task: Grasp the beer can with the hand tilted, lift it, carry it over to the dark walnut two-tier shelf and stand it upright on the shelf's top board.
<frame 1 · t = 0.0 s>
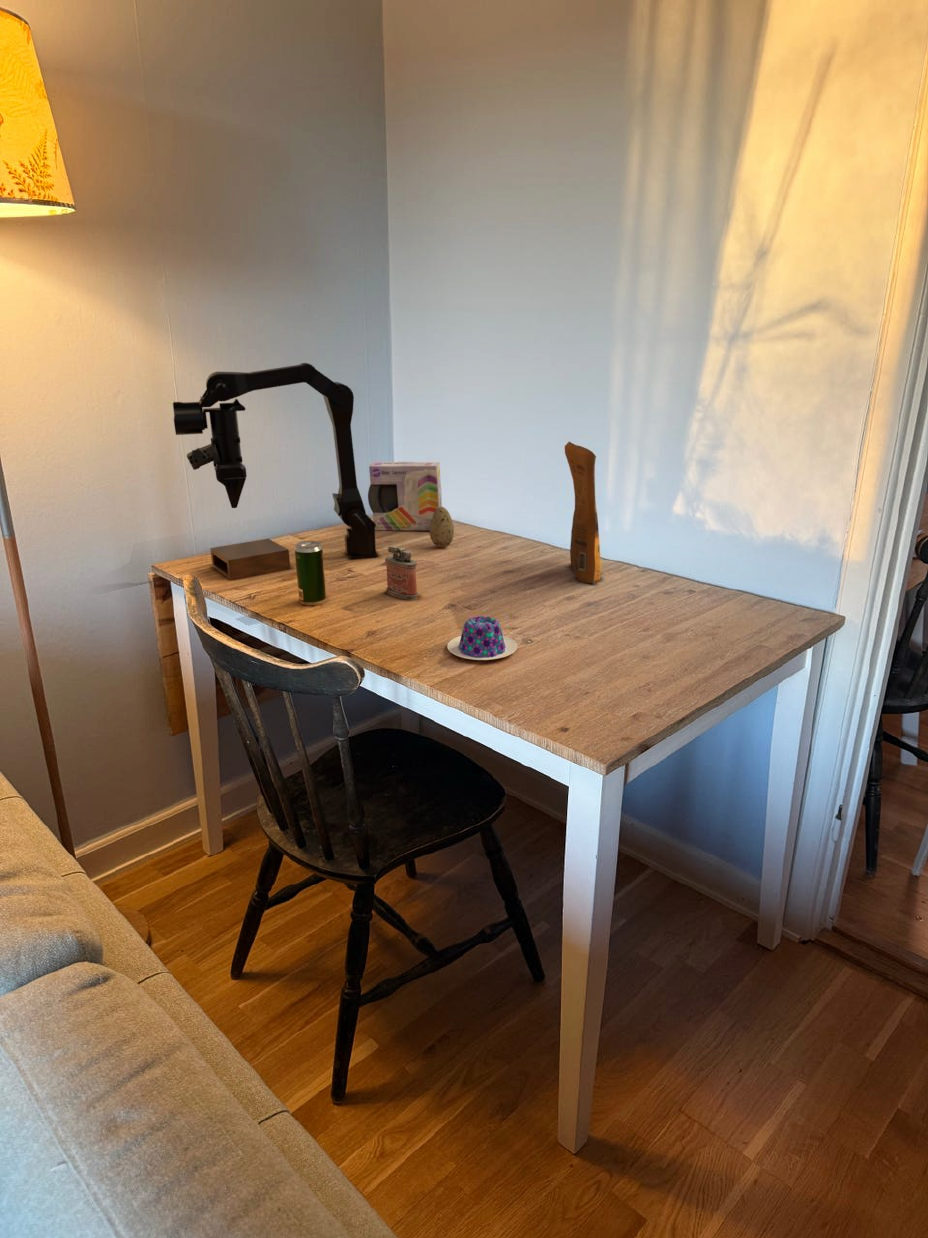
hand: (233, 503, 184), 15 cm above the table, tool pointing down, fingers open, 9 cm apart
cake pan box: (406, 529, 220), on the table
lighter: (402, 595, 169), on the table
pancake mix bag: (581, 573, 182), on the table
decorative egg: (442, 547, 203), on the table
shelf: (251, 567, 188), on the table
beer can: (312, 602, 166), on the table
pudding: (482, 651, 142), on the table
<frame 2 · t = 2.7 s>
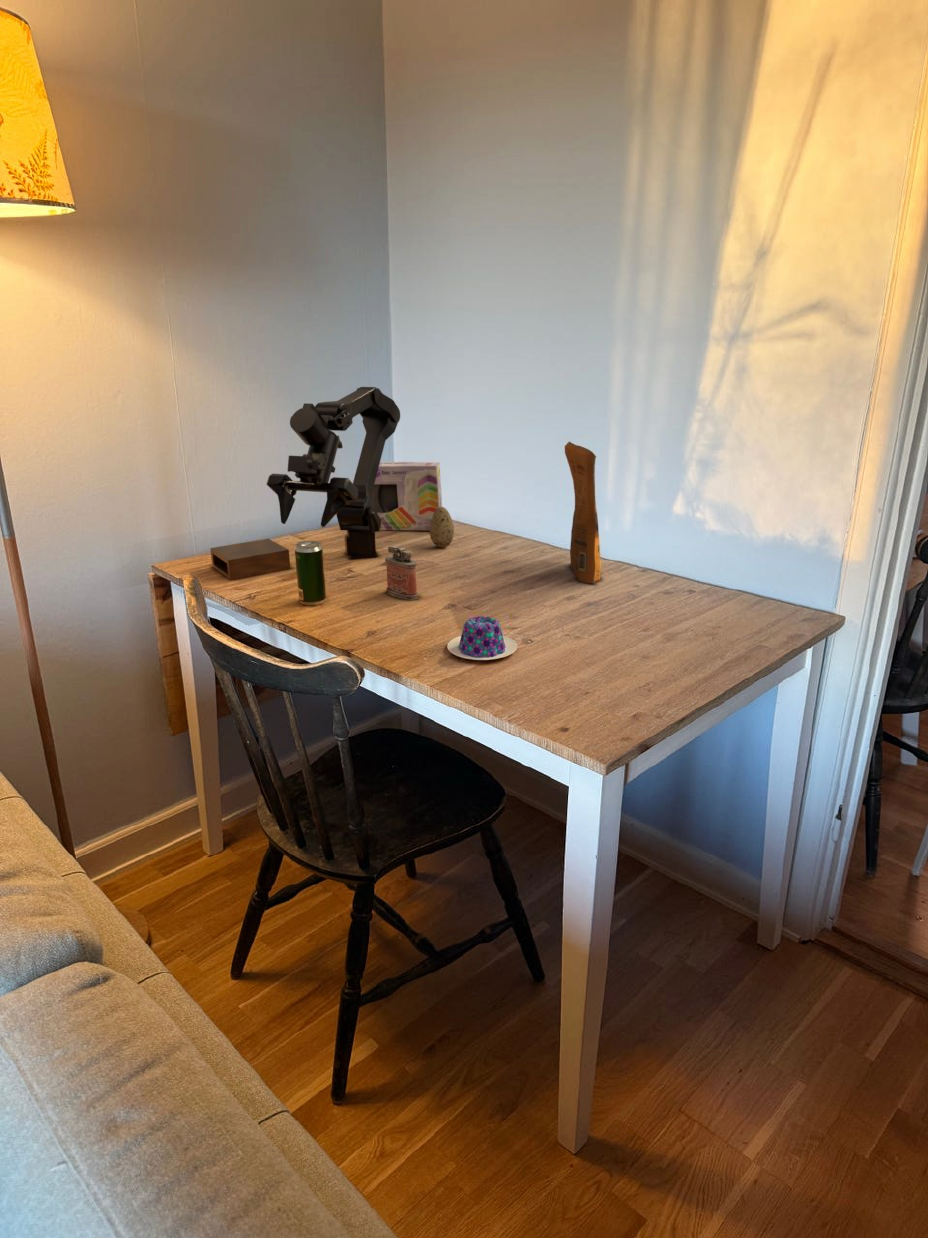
hand: (302, 524, 169), 14 cm above the table, tool tilted 40°, fingers open, 9 cm apart
nothing on the table moved.
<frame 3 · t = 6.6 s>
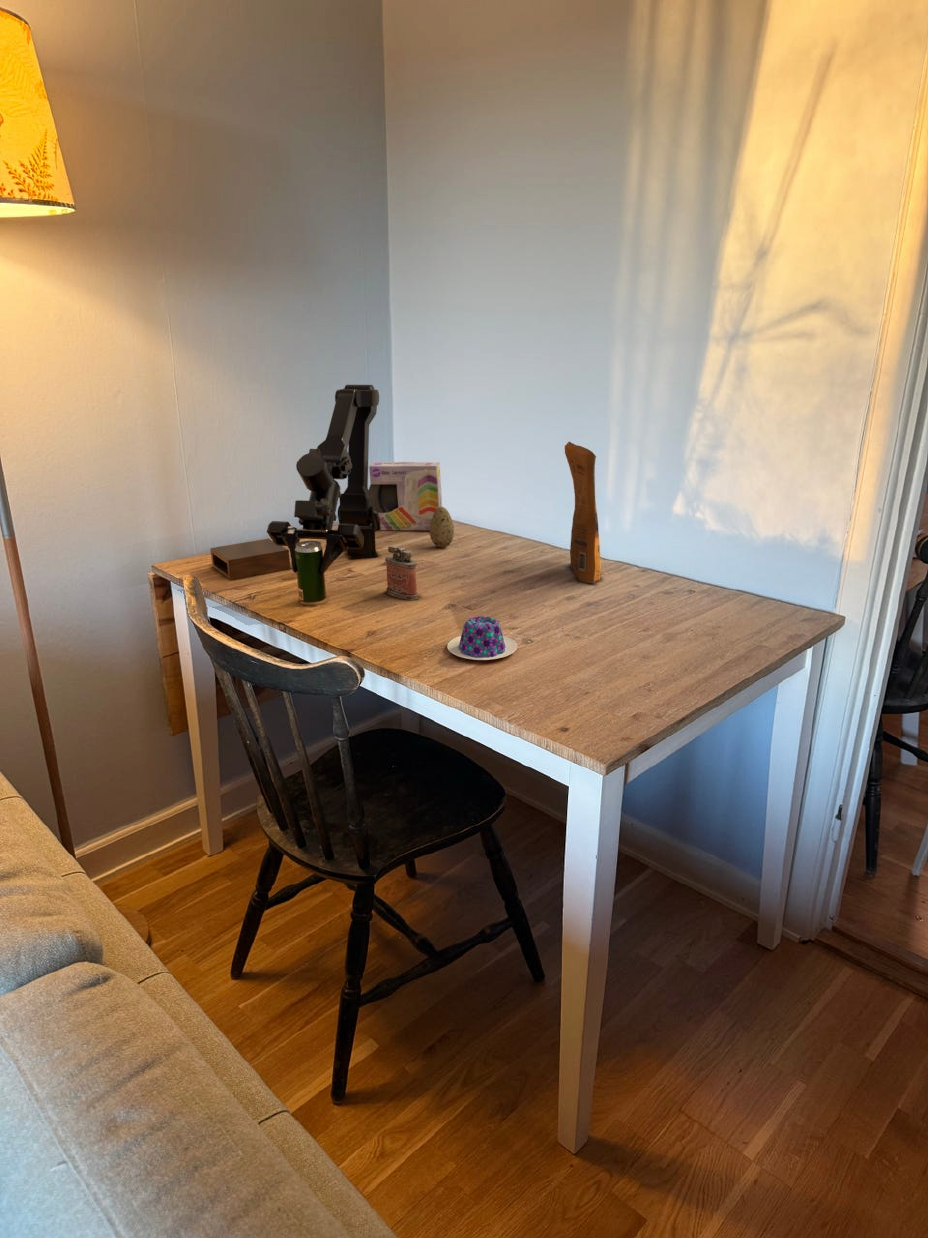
hand: (307, 572, 162), 7 cm above the table, tool tilted 45°, fingers closed on beer can, 5 cm apart
beer can: (312, 602, 166), on the table, touching gripper
everything else where it was.
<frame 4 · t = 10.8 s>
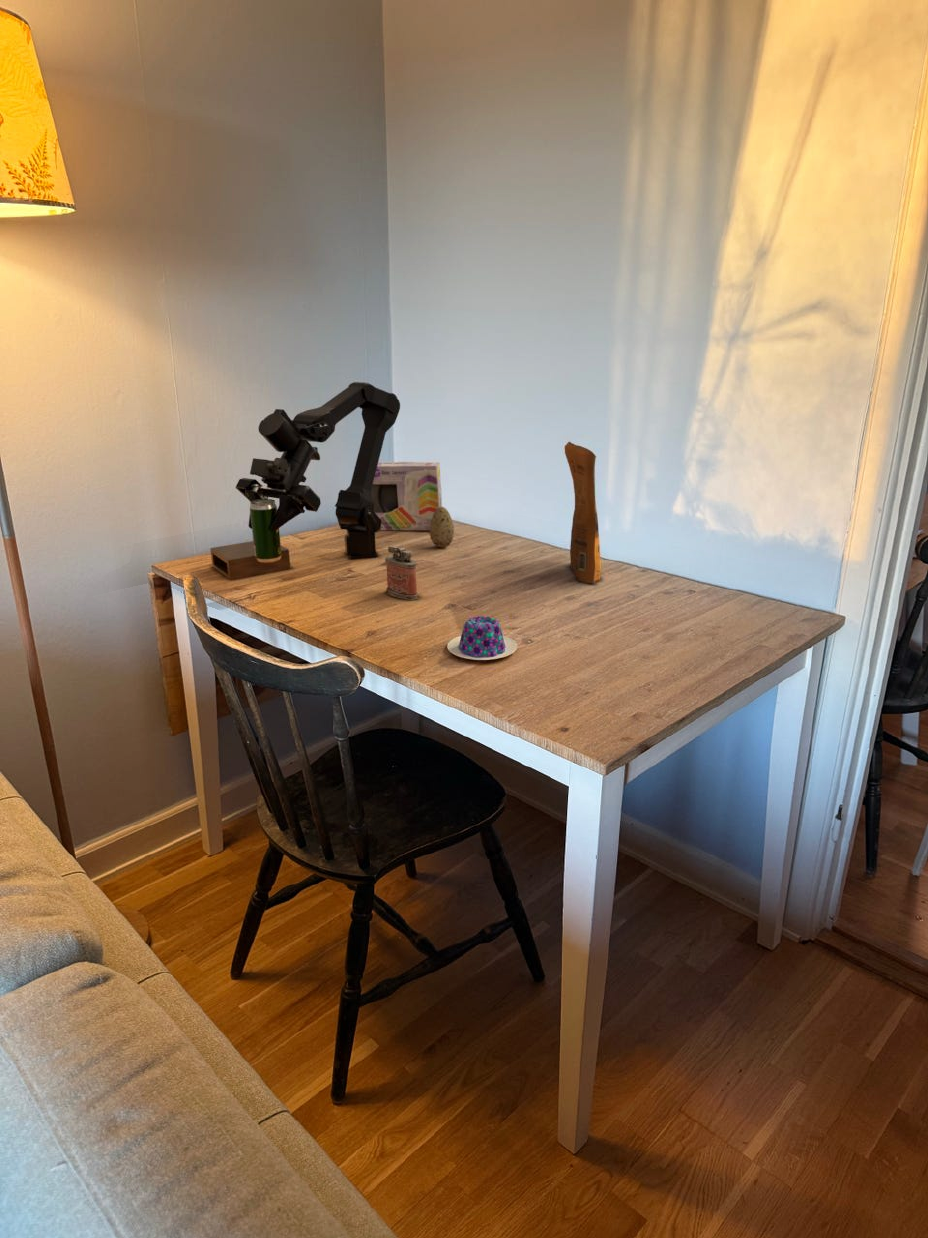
hand: (260, 529, 167), 14 cm above the table, tool tilted 45°, fingers closed on beer can, 5 cm apart
beer can: (268, 559, 170), point 7 cm above the table, touching gripper
everything else where it was.
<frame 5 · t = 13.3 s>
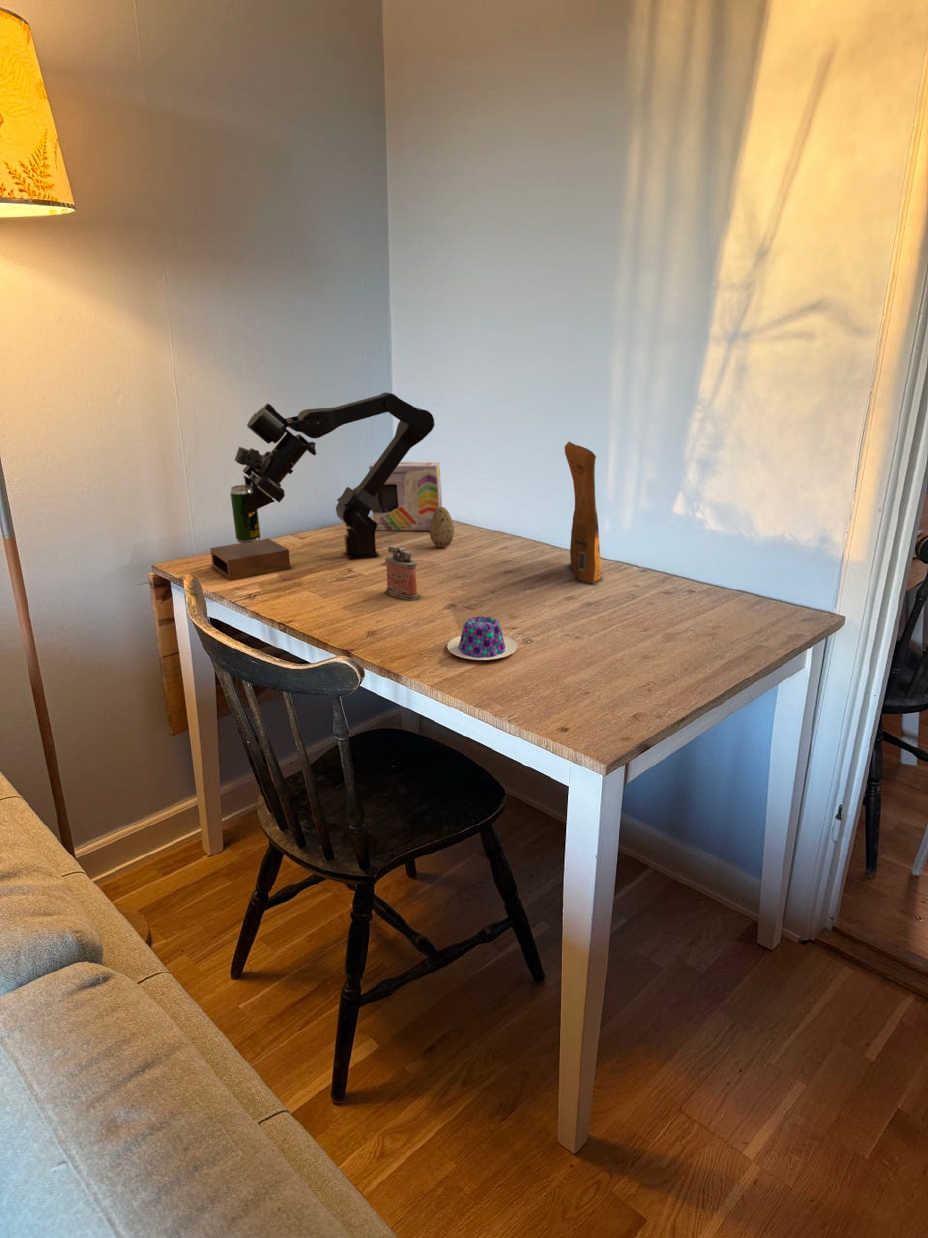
hand: (239, 511, 182), 13 cm above the table, tool tilted 45°, fingers closed on beer can, 5 cm apart
beer can: (248, 540, 185), point 7 cm above the table, touching gripper
everything else where it was.
when the fingers open (11 cm above the table, at t = 15.1 s): beer can stays where it is, resting on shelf.
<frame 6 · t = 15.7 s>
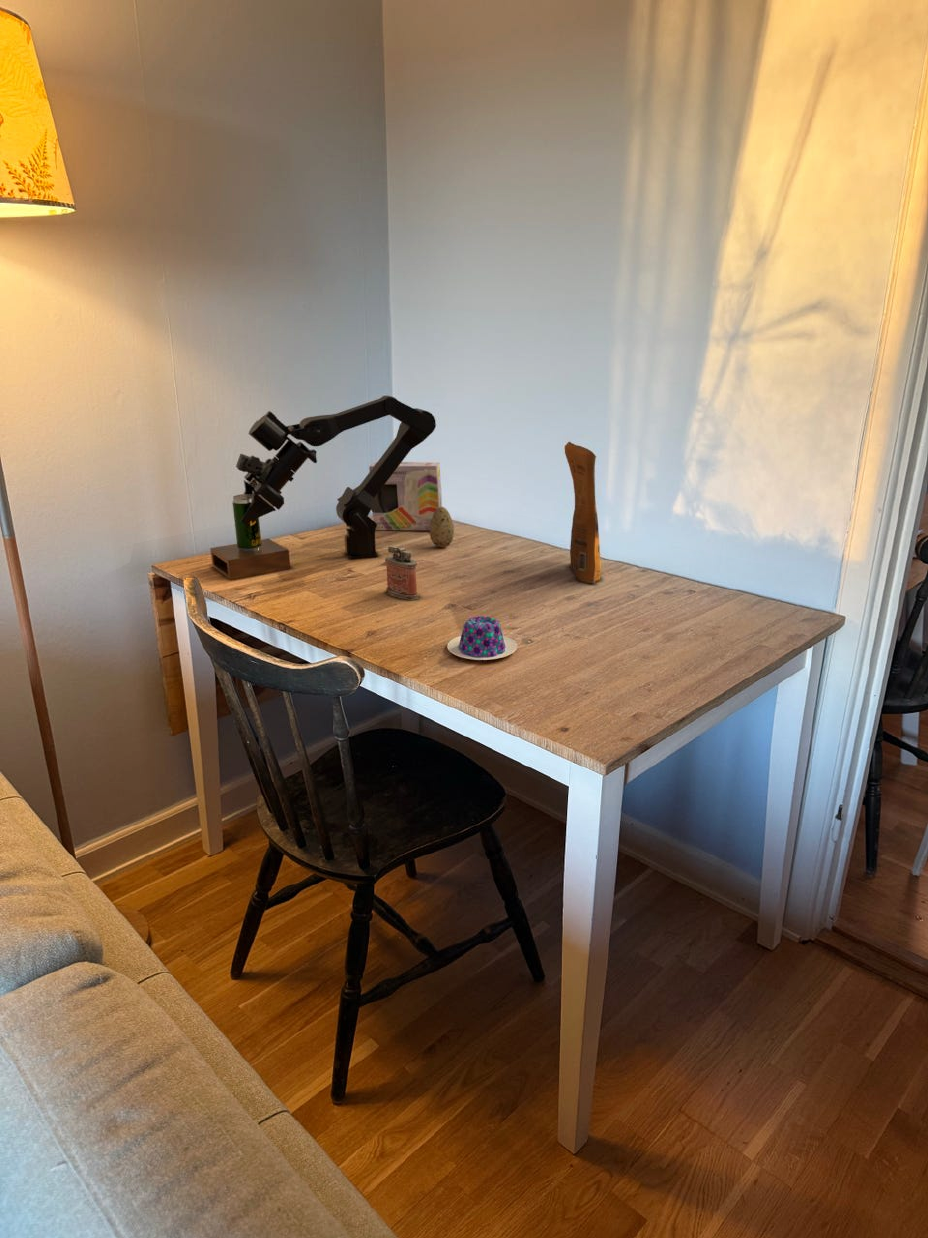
hand: (239, 518, 183), 12 cm above the table, tool tilted 45°, fingers open, 9 cm apart
beer can: (249, 549, 187), point 4 cm above the table, touching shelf
everything else where it was.
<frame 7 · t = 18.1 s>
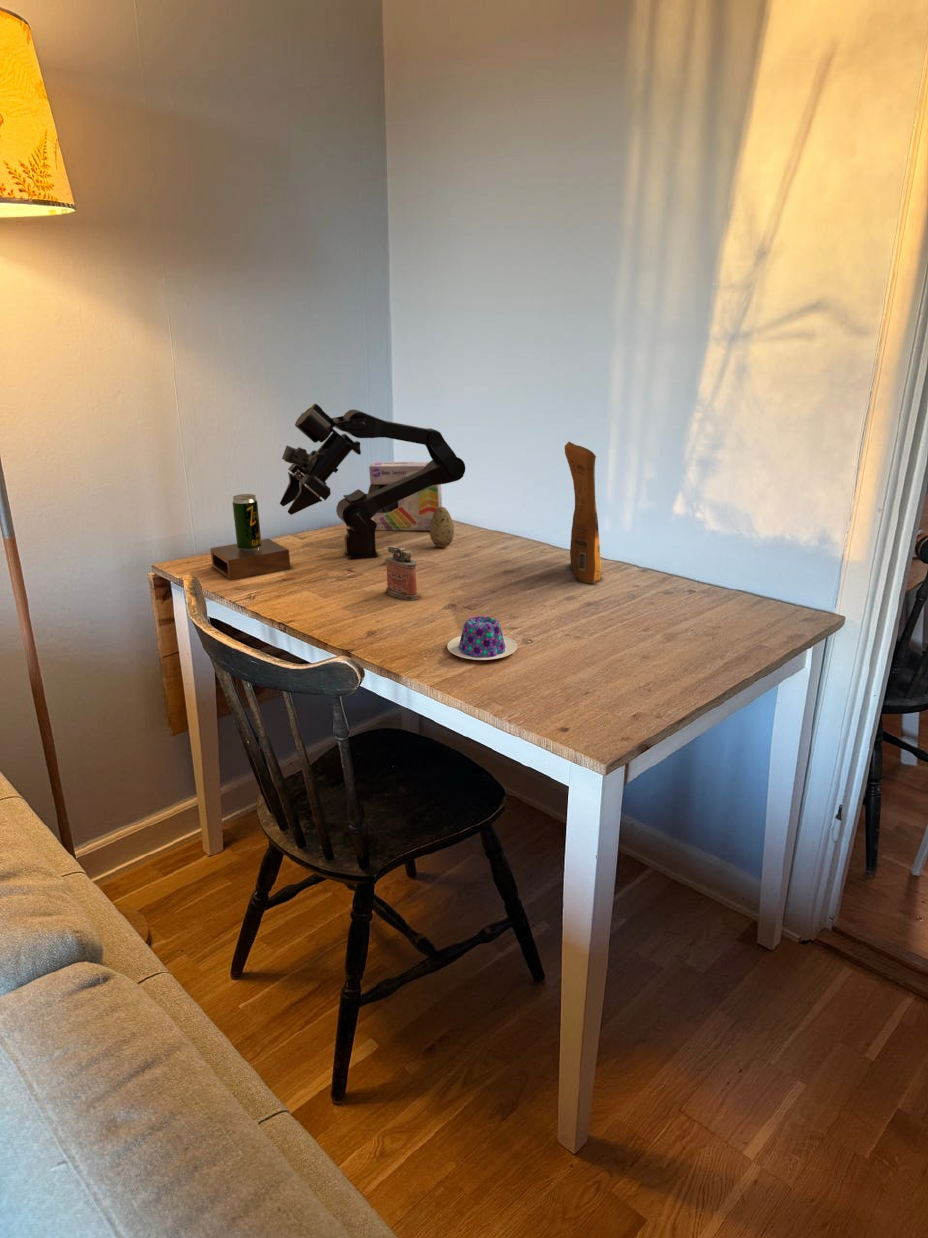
hand: (285, 509, 187), 13 cm above the table, tool tilted 45°, fingers open, 9 cm apart
nothing on the table moved.
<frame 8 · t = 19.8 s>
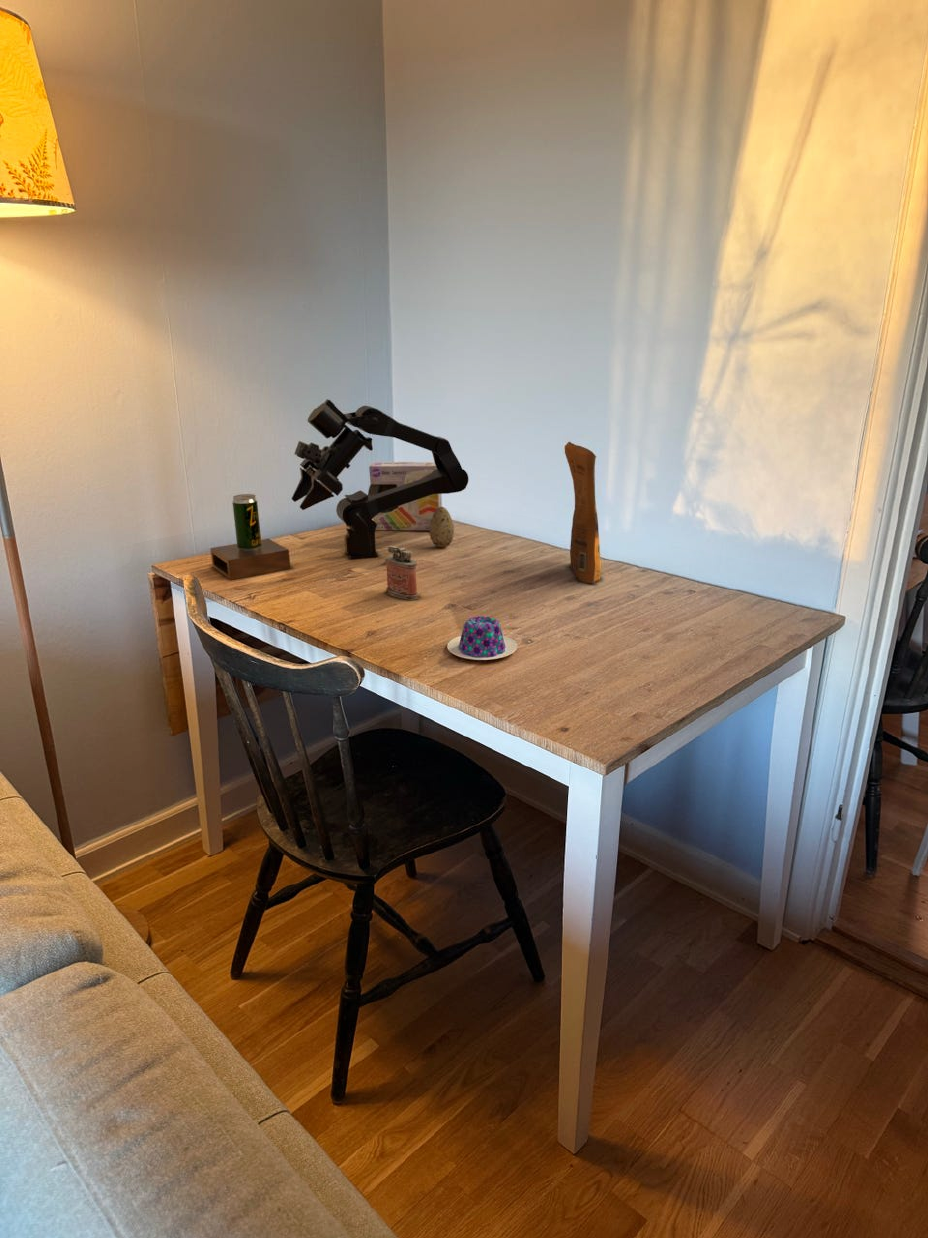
hand: (297, 504, 187), 14 cm above the table, tool tilted 45°, fingers open, 9 cm apart
nothing on the table moved.
at the end: beer can inside the target area on the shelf (0.1 cm from its centre), point 4.3 cm above the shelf's base; beer can tilted 0°; the gripper is holding nothing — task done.
